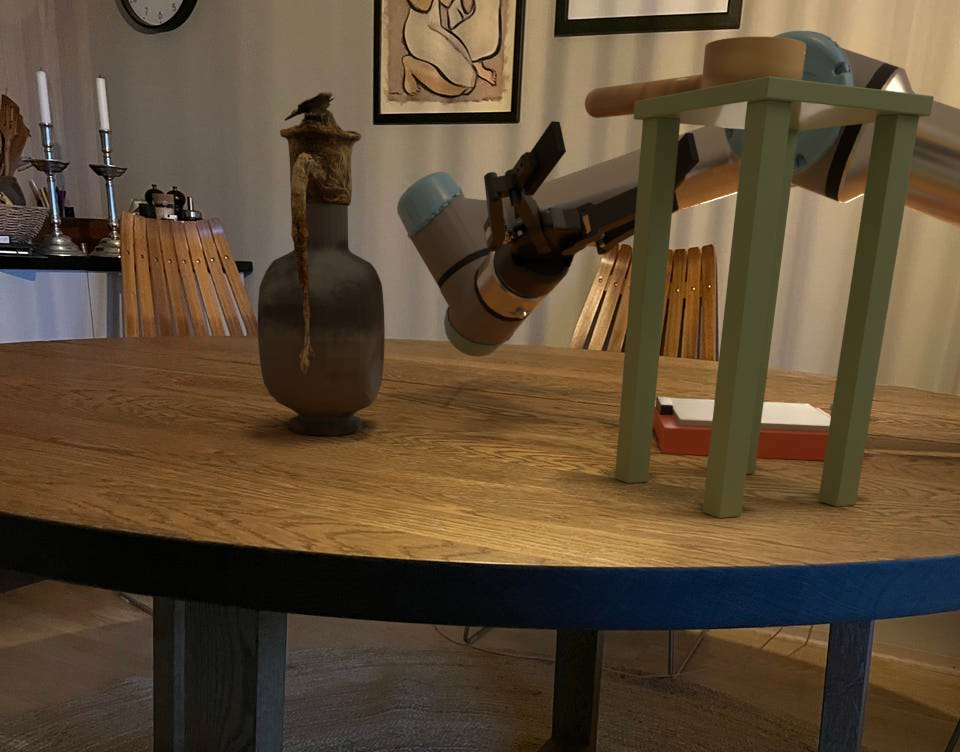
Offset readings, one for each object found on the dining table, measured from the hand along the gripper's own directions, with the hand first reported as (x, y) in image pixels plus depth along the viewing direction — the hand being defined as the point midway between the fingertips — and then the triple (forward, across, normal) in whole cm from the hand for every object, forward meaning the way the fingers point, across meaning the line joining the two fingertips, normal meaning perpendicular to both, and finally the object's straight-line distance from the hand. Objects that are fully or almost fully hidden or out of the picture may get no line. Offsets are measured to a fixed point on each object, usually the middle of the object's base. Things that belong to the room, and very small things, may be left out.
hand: (628, 141), depth 89 cm
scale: (-13, -16, -23) cm, 31 cm away
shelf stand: (+3, 0, -32) cm, 33 cm away
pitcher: (-27, +23, -15) cm, 39 cm away
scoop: (+9, +2, -3) cm, 10 cm away
